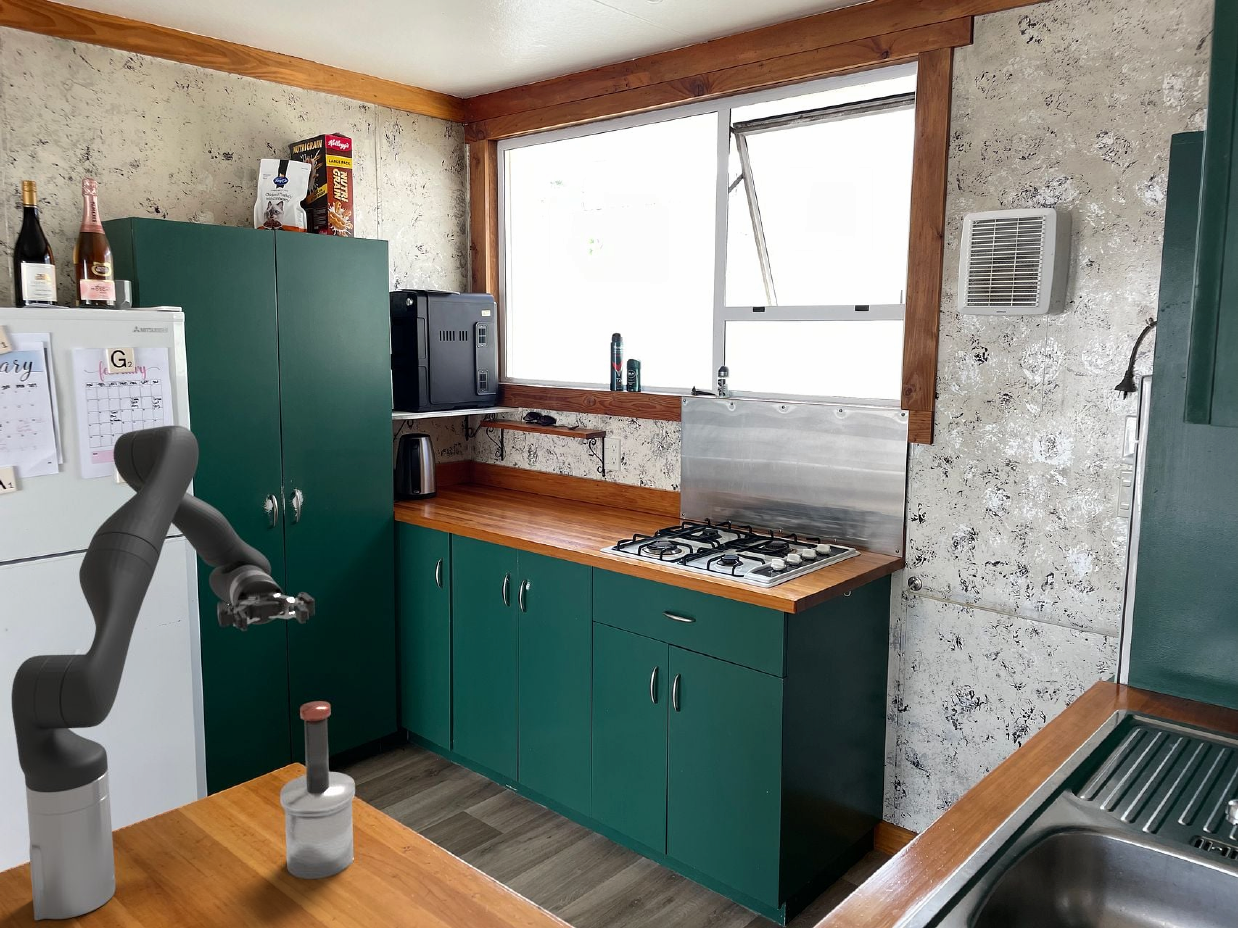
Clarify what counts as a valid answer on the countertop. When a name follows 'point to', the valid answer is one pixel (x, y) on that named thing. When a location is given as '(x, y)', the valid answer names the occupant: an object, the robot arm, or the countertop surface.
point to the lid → (317, 770)
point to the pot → (319, 842)
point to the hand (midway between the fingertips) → (274, 620)
